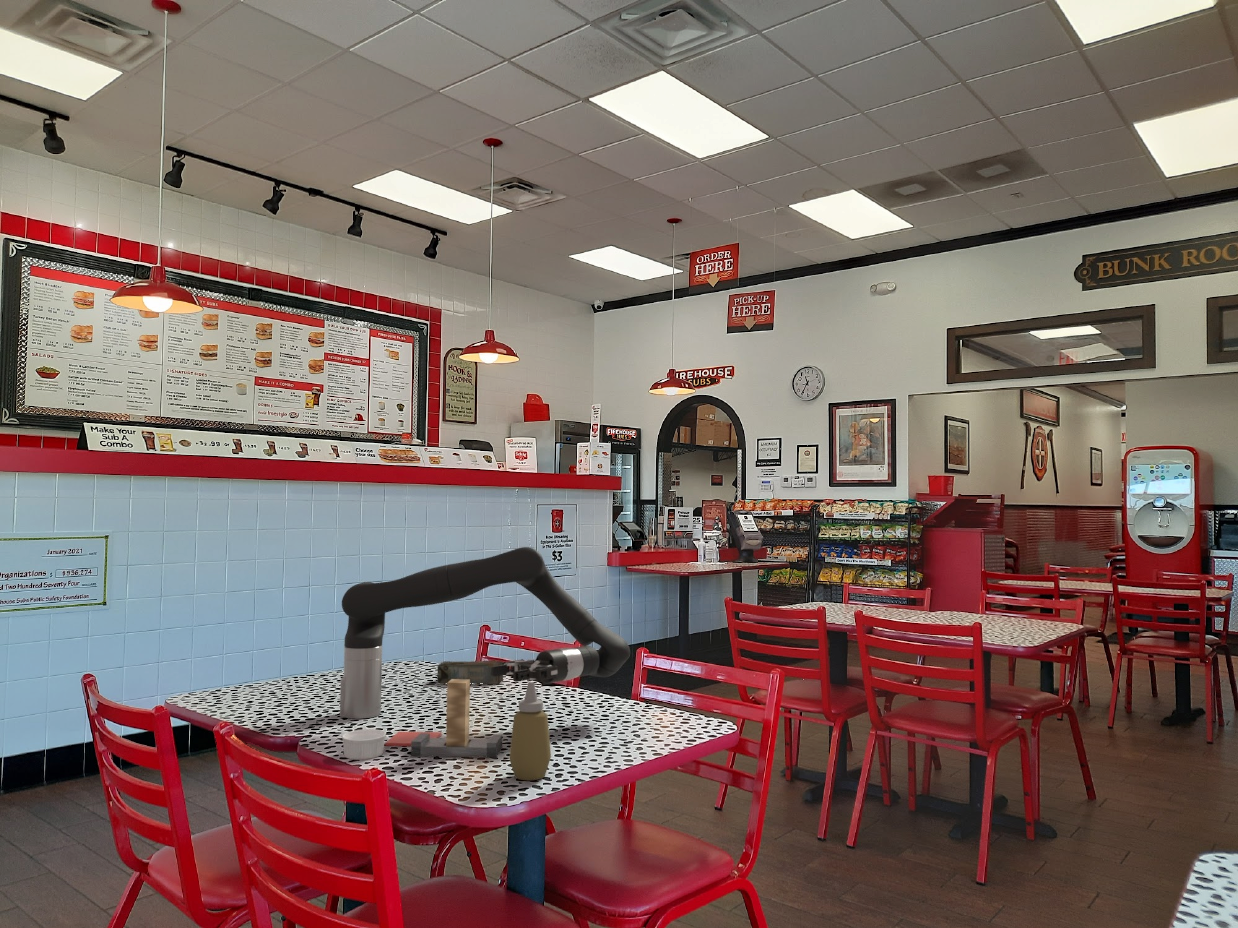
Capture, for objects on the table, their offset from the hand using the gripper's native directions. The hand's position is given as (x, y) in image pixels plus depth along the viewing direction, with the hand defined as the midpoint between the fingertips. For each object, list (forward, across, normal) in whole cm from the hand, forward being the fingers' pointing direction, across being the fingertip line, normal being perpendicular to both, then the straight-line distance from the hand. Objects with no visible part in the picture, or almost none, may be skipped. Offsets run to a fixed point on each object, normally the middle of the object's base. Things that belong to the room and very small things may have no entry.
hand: (502, 674), depth 190 cm
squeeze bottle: (+10, +24, +16) cm, 30 cm away
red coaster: (+14, -15, +15) cm, 25 cm away
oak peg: (+12, 0, +15) cm, 19 cm away
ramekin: (+27, -12, +15) cm, 33 cm away
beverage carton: (-32, -64, +15) cm, 73 cm away
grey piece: (+12, 0, +15) cm, 19 cm away
